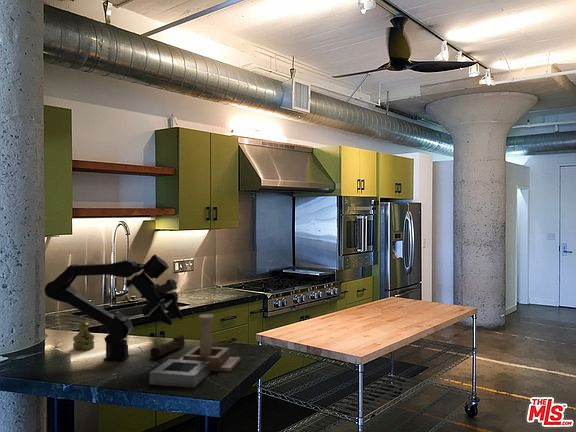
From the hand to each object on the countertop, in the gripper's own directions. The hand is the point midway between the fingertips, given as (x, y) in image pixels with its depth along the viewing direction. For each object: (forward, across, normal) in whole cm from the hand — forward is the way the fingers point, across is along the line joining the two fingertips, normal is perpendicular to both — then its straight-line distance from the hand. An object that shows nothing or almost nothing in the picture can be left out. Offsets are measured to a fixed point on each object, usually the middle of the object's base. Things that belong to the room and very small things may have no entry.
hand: (176, 321), depth 171 cm
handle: (+17, -2, +1) cm, 17 cm away
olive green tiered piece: (-19, +8, +38) cm, 43 cm away
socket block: (+16, -17, +4) cm, 23 cm away
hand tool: (+5, +10, +15) cm, 19 cm away
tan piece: (+18, -2, +1) cm, 18 cm away
